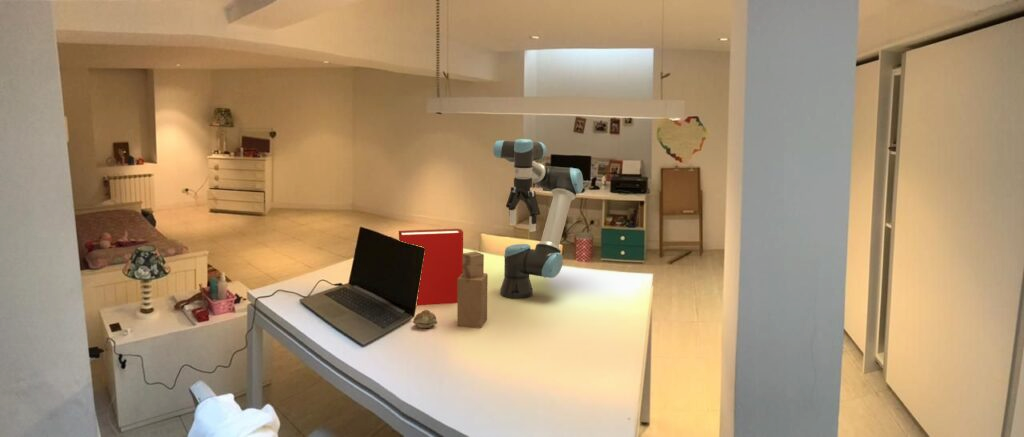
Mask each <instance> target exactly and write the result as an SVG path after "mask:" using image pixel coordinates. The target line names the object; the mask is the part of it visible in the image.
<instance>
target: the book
mask: <svg viewBox="0 0 1024 437" xmlns="http://www.w3.org/2000/svg"><path fill="white" fill-rule="evenodd" d="M399 240H400V241H403V242H406V243H409V244H414V245H418V246H422V247H424V248H425V255H424V261H423V267H422V273H421V280H420V285H419V292H418V299H417V306H432V305H434V306H435V305H446V304H457V285H458V278H459V277H460V276H461V275H462V274H463V253H464V231H463V230H462V229H461V228H442V229H440V228H438V229H418V230H417V229H416V230H415V229H414V230H413V229H412V230H398V241H399ZM417 306H416V307H417Z"/></svg>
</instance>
